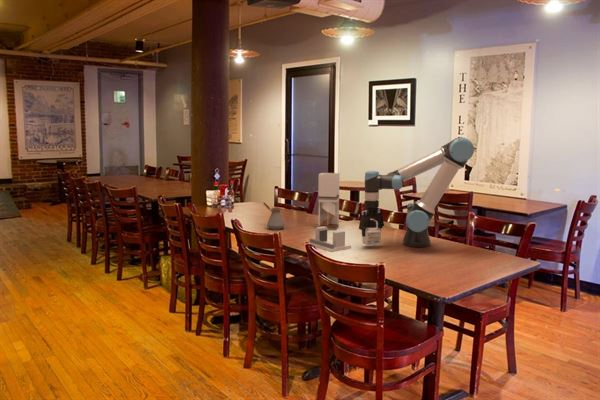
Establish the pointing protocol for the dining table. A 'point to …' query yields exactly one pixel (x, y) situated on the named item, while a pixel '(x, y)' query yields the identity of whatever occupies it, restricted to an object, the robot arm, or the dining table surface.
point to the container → (373, 233)
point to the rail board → (328, 244)
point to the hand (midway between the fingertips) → (371, 240)
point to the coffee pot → (275, 219)
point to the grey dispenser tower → (328, 200)
